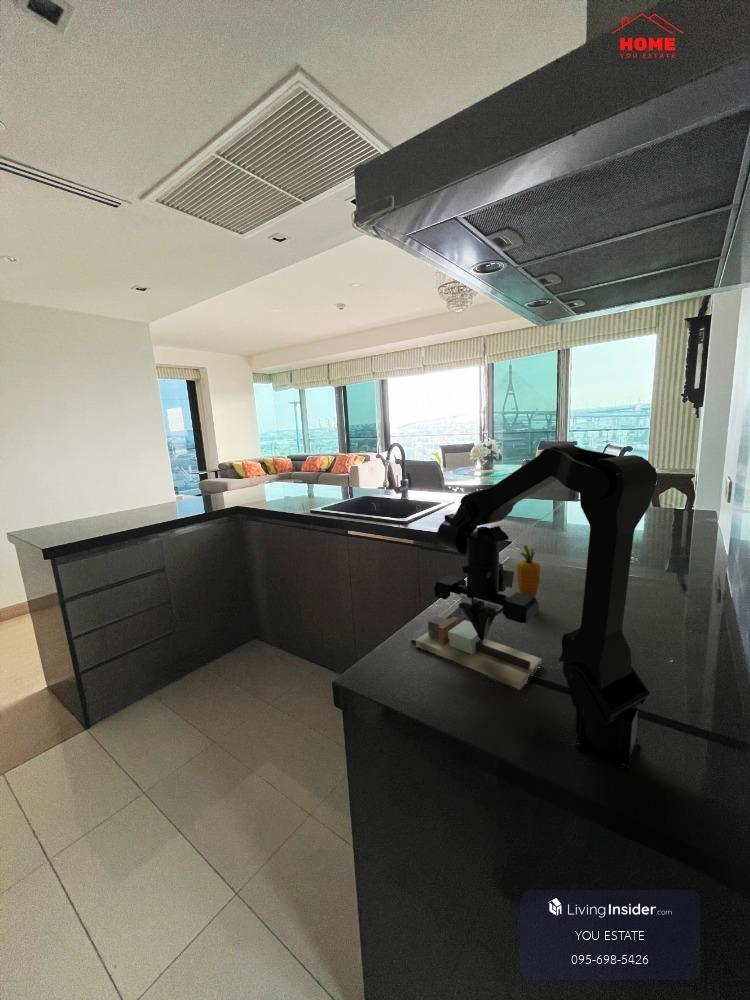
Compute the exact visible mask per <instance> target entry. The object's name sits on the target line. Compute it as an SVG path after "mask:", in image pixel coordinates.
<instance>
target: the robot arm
mask: <svg viewBox="0 0 750 1000" xmlns="http://www.w3.org/2000/svg"><path fill="white" fill-rule="evenodd" d="M556 481H558V482H559V483H561V485H563V487H565V488H567V489H570V490H572V491H575V492H576V493H579V501H580V503H579V504H580V508H581V510H582V512H583V515H584V516H585V518H586V520H587V522H588V524H589V538H588V548H587V559H586V560H587V561H586V569H585V578H584V579H585V580H584V590H583V599H582V611H581V620H580V621H581V622H580V626H579V628H577V629H574V630H572V631H569V632H567V633H564V634H563V636H562V638H561V648H562V649H561V651H562V652H561V655H560V657H559V658H558V661H559V662H562V672H563V675H564V677H565V679H566V683H567V686H568V691H569V694H570V697H571V702H572V706H573V707H574V708H575V725H574V727H575V728H574V731H575V734H576V735H577V737H576V738H575V740H574V746H575V745H576V746H577V747H578V749H579V748H580V750H581V749H582V751H583V750H584V751H583V752H586V753H588V754H590V755H592V754H593V755H592V756H594V755H596V756H598V757H600V758H602V759H604V760H603V761H605V760H606V761H605V762H607V761H608V762H607V763H608V764H611V763H612V764H611V765H613V764H614V765H613V766H615V765H616V766H615V767H617V766H618V767H617V768H619V767H622V768H624V769H627V768H628V767H629V768H630V766H629V764H630V765H631V763H630V762H632V761H631V759H632V760H633V758H632V756H633V754H634V755H635V753H636V751H635V749H636V750H637V748H636V746H637V744H638V745H639V743H638V742H639V739H638V737H637V728H638V727H637V726H638V715H639V714H638V713H639V712H638V711H639V708H638V707H639V706H641V705H644V704H645V703H646V701H647V700H648V699H649V697H650V696H651V693H650V691H649V689H648V688H647V686H646V684H644V682H643V680H642V679H641V678H640V676H639V675H638V673H637V672H636V670H635V669H634V667H633V666H632V654H631V647H630V645H629V643H628V641H627V639H626V637H625V635H624V634H623V625H624V617H625V616H624V615H625V609H626V602H627V601H626V600H627V592H628V585H629V583H628V582H629V577H630V568H631V560H632V559H631V558H632V552H633V545H634V544H633V543H634V536H635V530H636V528H637V526H638V524H639V523H640V521H641V520H642V519H643V517H644V515H645V514H646V512H647V511H648V509H649V507H650V505H651V503H652V499H653V496H654V492H655V490H656V486H657V482H658V472H657V469H656V468H655V467H654V466H653V465H652V464H651V463H650V461H649V460H647V459H645V458H644V457H642V456H639V455H636V454H630V455H621V456H619V455H617V454H611V453H606V452H601V451H595V450H590V449H585V448H582V447H579V446H575V444H574V445H573V444H561V445H552V446H548V447H545V449H543V450H542V451H541V452H540V453H539V454H538V455H537V456H535V457H534V458H532V459H530V460H529V461H528V462H526V463H525V464H524V465H522V466H521V467H519V468H517V469H516V470H515V471H513V472H511V473H510V474H508V475H507V476H506V477H504V478H502V479H501V480H500V481H498V482H496V484H494V485H492V486H488V487H486V488H482V489H478V490H475V491H472V492H470V493H468V494H465V495H464V496H462V497H461V499H460V501H459V503H460V505H459V506H458V509H456V512H455V514H454V513H449V514H445V515H444V521H442V522H441V524H440V525H439V526H438V529H437V532H436V540H437V542H438V543H439V545H441V547H445V548H447V549H450V550H453V551H455V552H457V553H459V554H462V555H466V565H464V566H462V573H464V574H466V579H465V578H463V577H459V576H455V575H451V574H448V575H446V576H444V577H442V578H441V579H439V580H436V582H435V583H434V585H433V596H434V597H436V598H438V599H442V600H447V599H448V598H450V597H451V593H452V594H456V595H459V597H460V602H459V604H458V608H459V609H461V610H463V612H464V613H465V615H466V617H467V618H468V621H469V622H471V623H472V625H473V627H474V629H475V631H476V633H477V635H478V636H479V638H480V639H481V640H485V639H487V637H488V635H489V632H490V630H491V627H492V624H493V621H494V620H495V618H496V617H497V616H498V615H500V614H501V613H502V614H503V616H504V617H505V619H506V620H510V621H513V622H516V623H520V624H526V623H528V622H529V621H530V620H531V619H532V618H533V617H534V616H535V615H536V614H538V613H539V605H540V604H539V603H540V602H539V601H538V599H537V598H536V596H535V597H533V596H529V595H525V594H521V593H520V592H514V593H513V594H512V595H511V596H509V597H508V596H507V595H506V594H501V593H500V592H502V593H503V592H505V591H506V588H507V587H508V588H510V589H512V588H513V583H514V576H515V571H513V570H507V569H504V565H503V563H501V562H500V542H504V541H508V540H509V538H510V537H509V535H508V534H507V533H506V532H505V531H504V530H503V529H502V528H501V526H500V525H497V526H493V527H488V526H484V525H489V524H493V523H497V522H499V523H500V522H501V521H503V520H504V519H505V518H506V517H507V516H508V515H509V514H510V513H511V512H512V511H513V509H514V507H515V505H516V504H518V503H519V502H521V501H523V500H524V499H526V498H528V497H529V496H532V494H534V493H536V492H538V491H540V490H542V489H543V488H545V487H547V486H549V485H551V484H552V483H554V482H556ZM577 743H579V744H577ZM635 743H636V744H635ZM576 746H575V747H576ZM577 747H576V748H577ZM637 747H638V746H637ZM634 752H635V753H634ZM596 756H595V757H596ZM598 757H597V758H598ZM633 757H634V756H633ZM600 758H599V759H600ZM602 759H601V760H602ZM622 764H625V765H626V766H624V765H622ZM629 768H628V769H629ZM624 769H623V770H624Z"/></svg>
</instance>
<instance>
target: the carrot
mask: <svg viewBox="0 0 750 1000" xmlns="http://www.w3.org/2000/svg"><path fill="white" fill-rule="evenodd" d="M523 549H524V551H525V552H520V555H521V556H523V558H524V559H523V560H521V561H520V562H519V563H518V564H517V566H516V567H517V584H518V590H519V593H521V594H525V595H529V596H533V597H535V598H536V596H537V593H538V588H539V584H540V575H541V574H540V573H541V566H540V564H539V563H538V562H536V561H535V560H533V559H534V555H535V553H536V552H535V549H534V548H530V550H529V547H528V545H526V544H524V545H523Z"/></svg>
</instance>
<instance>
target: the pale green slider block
mask: <svg viewBox="0 0 750 1000" xmlns="http://www.w3.org/2000/svg"><path fill="white" fill-rule="evenodd" d="M448 638H449V639H450V646H452V647H454V648H457V649H459V650H462V651H464V652H467V653H470V654H472V655H473V654H474V653H475V652H476V642H478V643H481V644H483V645H485V644H486V639H487V638H486V639H485V640H481V639H480V638H479V636H478V635H477V633H476V631H475V629H474V627H473V625H472V623H471V621H470V620H466V619H464V620H463V621H461V622H459V624H458V625H457V626H455V627H454V628H452V629H451V630H450V631H448Z"/></svg>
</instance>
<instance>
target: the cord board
mask: <svg viewBox="0 0 750 1000" xmlns="http://www.w3.org/2000/svg"><path fill="white" fill-rule="evenodd" d="M458 624H460V618H459V617H457V616H452V617H450V618H449V619H447V618H443V617H440V616H438V615H435V616H433V617H432V618H430V619H428V620H427V627H428V628H427V629H428V631H427V632H426V633H424V634H423V635H421V636H419V637H418V638H417V639H415V647H416V648H418V647H419V648H418V649H420V648H421V650H423V649H424V650H423V651H425V650H427V651H429V652H428V653H430V652H432V653H435V654H437V655H440V656H443V657H445V658H448V659H450V660H453V661H455V662H457V663H459V664H462V665H463V666H466V667H469V668H472V669H474V670H476V671H479V672H481V673H483V674H485V675H488V676H489V677H492V678H494V679H497V680H499V681H501V682H504V683H507V684H509V685H512V686H513V687H515V688H517V689H521V688H522V687H523V686H524V685H525V684H526V685H527V683H528V682H529V681H528V677H529V674H530V673H531V672H533V670H534V669H535V668H537V666H538V665H539V664H541V662H542V663H543V658H541V657H539V656H538V657H537V656H536V655H532V654H530V653H527V652H524V651H521V650H518V649H515V648H512V647H510V646H507V645H504V644H501V643H499V642H496V641H493V640H491V639H487V638H486V644H485V645H483V644H481V643H478V642H476V652H475V653H474V654H473V655H472V654H470V653H467V652H464V651H462V650H459V649H457V648H454V647H452V646H450V639H449V638H448V631H450V630H451V629H452V628H454V627H455V626H457V625H458ZM427 651H426V652H427ZM432 653H431V654H432ZM437 655H436V656H437ZM463 666H462V667H463ZM489 677H488V678H489ZM527 681H528V682H527ZM524 687H525V686H524ZM524 687H523V688H524ZM515 688H514V689H515ZM523 688H522V689H523ZM517 689H516V690H517ZM522 689H521V690H522Z"/></svg>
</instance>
